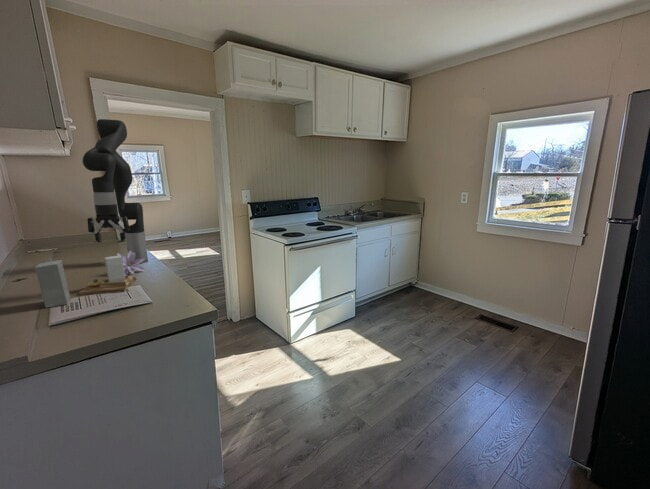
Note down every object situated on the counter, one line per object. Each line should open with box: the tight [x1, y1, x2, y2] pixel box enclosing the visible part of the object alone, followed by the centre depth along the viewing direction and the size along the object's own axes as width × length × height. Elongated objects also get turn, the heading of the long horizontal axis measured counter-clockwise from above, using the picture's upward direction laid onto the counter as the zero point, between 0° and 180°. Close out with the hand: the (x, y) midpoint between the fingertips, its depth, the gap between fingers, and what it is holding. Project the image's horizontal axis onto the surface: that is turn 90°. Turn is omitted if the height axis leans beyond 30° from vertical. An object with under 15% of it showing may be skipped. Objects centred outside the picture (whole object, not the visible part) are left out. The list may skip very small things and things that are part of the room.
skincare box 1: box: [34, 259, 71, 308], centre depth 113 cm, size 8×7×16 cm
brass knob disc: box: [87, 278, 102, 287], centre depth 130 cm, size 5×5×2 cm
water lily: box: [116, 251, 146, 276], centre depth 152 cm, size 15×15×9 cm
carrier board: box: [78, 274, 137, 296], centre depth 131 cm, size 16×16×3 cm
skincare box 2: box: [103, 255, 125, 282], centre depth 131 cm, size 6×4×12 cm
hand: (111, 241), depth 128 cm, fingers open, 8 cm apart
